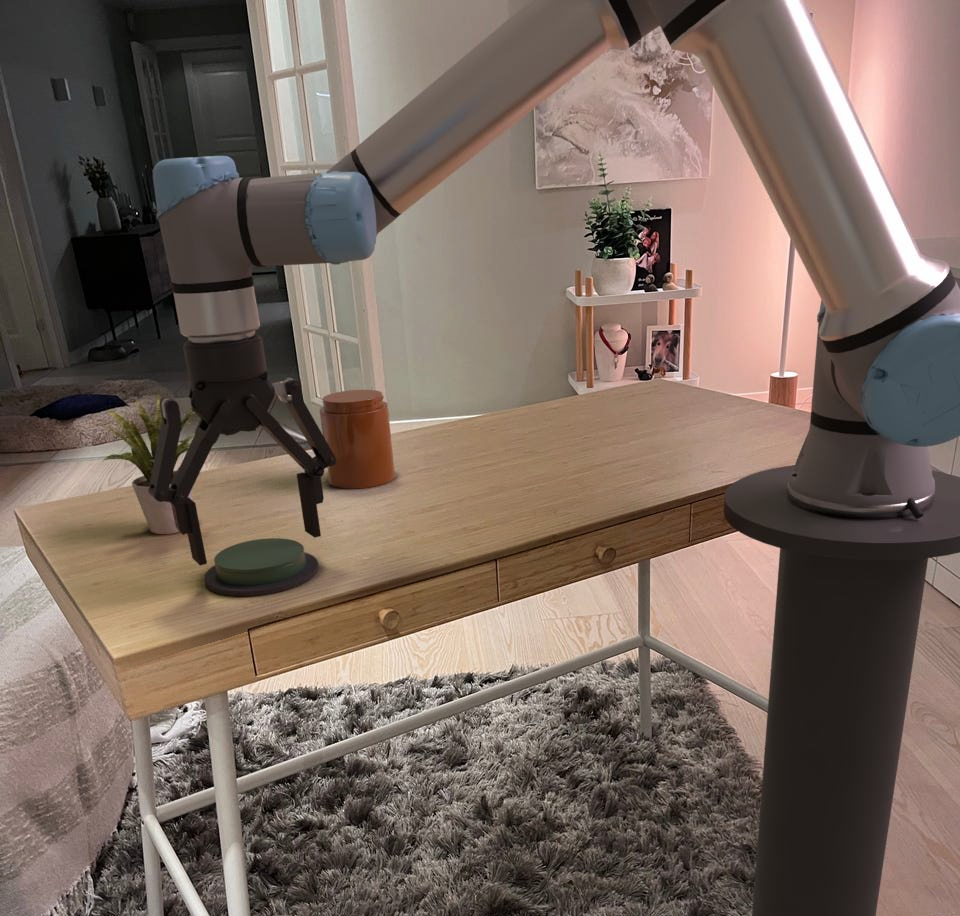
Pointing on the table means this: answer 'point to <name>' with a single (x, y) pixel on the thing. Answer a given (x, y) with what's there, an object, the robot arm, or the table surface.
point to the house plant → (149, 466)
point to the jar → (358, 438)
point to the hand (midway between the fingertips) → (257, 547)
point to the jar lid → (260, 561)
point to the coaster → (254, 590)
